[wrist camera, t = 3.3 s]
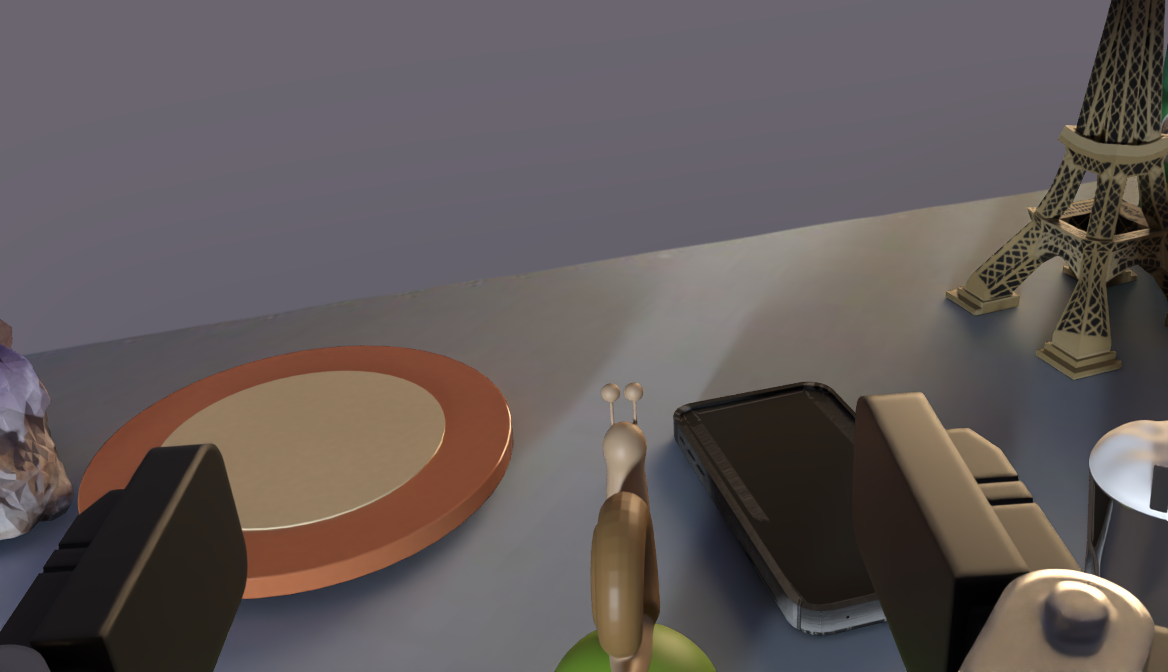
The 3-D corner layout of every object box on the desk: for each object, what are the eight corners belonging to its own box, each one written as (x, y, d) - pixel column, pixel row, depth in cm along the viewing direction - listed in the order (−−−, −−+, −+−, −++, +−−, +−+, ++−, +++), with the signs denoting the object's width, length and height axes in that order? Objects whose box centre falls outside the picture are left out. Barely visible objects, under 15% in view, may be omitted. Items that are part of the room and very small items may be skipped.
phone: (822, 378, 52) (1004, 569, 39) (821, 398, 53) (1000, 594, 40) (664, 408, 51) (797, 617, 38) (665, 428, 51) (797, 642, 38)
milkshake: (1031, 709, 35) (1072, 443, 30) (1077, 612, 39) (1120, 363, 34) (1190, 771, 32) (1260, 492, 28) (1222, 661, 36) (1289, 399, 32)
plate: (10, 631, 42) (-5, 594, 41) (167, 386, 59) (159, 357, 58) (507, 596, 42) (501, 558, 41) (521, 361, 58) (517, 331, 58)
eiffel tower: (1249, 336, 55) (1377, -216, 44) (1073, 379, 53) (1161, -196, 42) (1101, 263, 64) (1176, -211, 53) (945, 296, 62) (988, -194, 51)
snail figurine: (722, 690, 37) (717, 375, 31) (736, 859, 31) (732, 511, 25) (560, 692, 37) (527, 382, 32) (544, 859, 31) (500, 516, 26)
